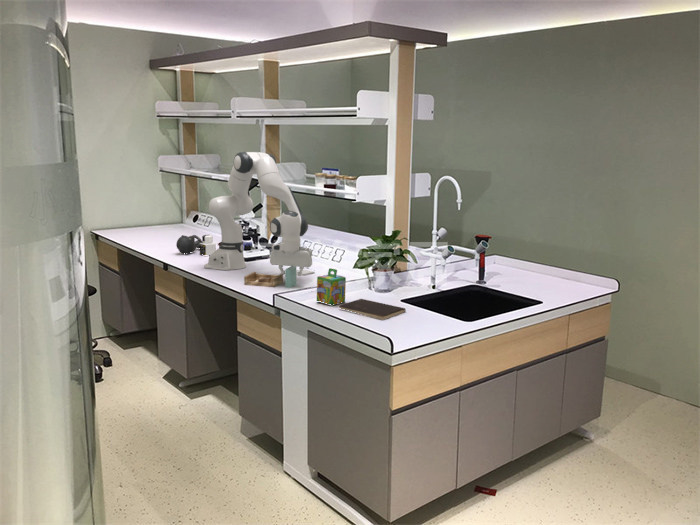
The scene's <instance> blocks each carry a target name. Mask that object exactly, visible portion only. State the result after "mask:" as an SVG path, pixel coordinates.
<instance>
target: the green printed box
mask: <svg viewBox="0 0 700 525" xmlns="http://www.w3.org/2000/svg"><path fill="white" fill-rule="evenodd" d="M332 272H333V273H332ZM337 273H338V269H336V268H335V269H334V268H328V272H327V274H324V275H319V276H317V278H316V301H321V302H324V303H327V304H331V305H333V304H337V303H341V302H345V303H346V286H347V285H346V280H347V277H345V276H343V275H339V274H337ZM341 304H342V303H341ZM337 305H338V304H337ZM333 306H334V305H333Z"/></svg>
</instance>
